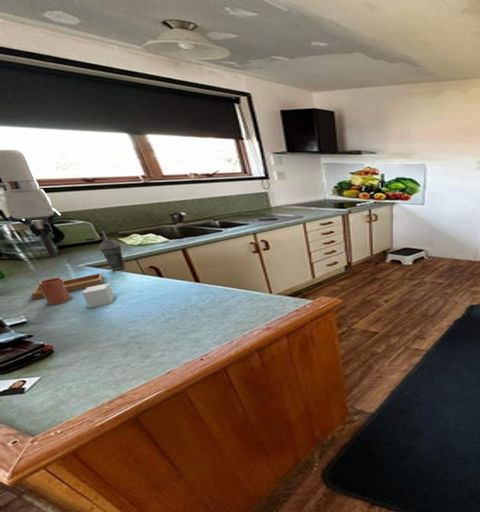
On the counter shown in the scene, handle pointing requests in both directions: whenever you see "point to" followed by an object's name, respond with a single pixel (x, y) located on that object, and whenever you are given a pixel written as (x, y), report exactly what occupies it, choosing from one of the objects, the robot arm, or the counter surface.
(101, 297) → the white cube
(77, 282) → the pen tray
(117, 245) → the beverage cup
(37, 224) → the marker
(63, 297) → the cup
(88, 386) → the counter surface
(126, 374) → the counter surface
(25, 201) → the robot arm
